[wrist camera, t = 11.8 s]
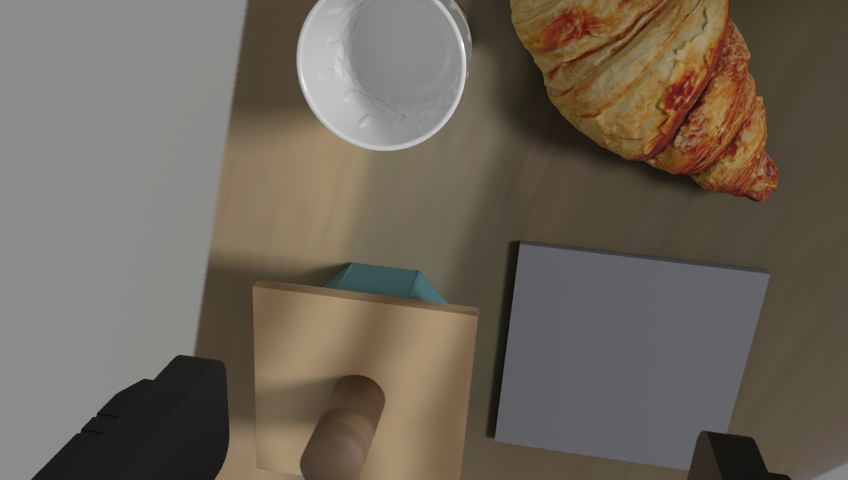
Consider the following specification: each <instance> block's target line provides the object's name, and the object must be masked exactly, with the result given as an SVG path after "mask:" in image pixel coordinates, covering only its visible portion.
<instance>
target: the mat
mask: <svg viewBox="0 0 848 480" xmlns="http://www.w3.org/2000/svg"><path fill="white" fill-rule="evenodd" d="M770 275H771V274H770V273H769V271H768V270H763V269H754V268H746V267H738V266H729V265H721V264H712V263H704V262H696V261H687V260H679V259H670V258H662V257H654V256H645V255H637V254H628V253H620V252H612V251H603V250H595V249H587V248H578V247H570V246H561V245H553V244H545V243H536V242H528V241H520V246H519V254H518V262H517V269H516V277H515V285H514V293H513V300H512V308H511V316H510V324H509V331H508V339H507V347H506V355H505V363H504V370H503V378H502V386H501V394H500V401H499V409H498V417H497V425H496V433H495V442H502V443H509V444H515V445H522V446H529V447H535V448H542V449H548V450H555V451H562V452H568V453H575V454H581V455H588V456H595V457H601V458H608V459H615V460H621V461H628V462H634V463H641V464H648V465H654V466H661V467H667V468H674V469H681V470H687V471H689V470H690V466H691V461H692V457H693V453H694V449H695V445H696V441H697V438H698V436H699V434H700V432H701V431H703V430H704V431H711V432H718V433H725V434H727V431H728V427H729V423H730V420H731V416H732V413H733V409H734V405H735V402H736V398H737V394H738V391H739V387H740V384H741V380H742V376H743V373H744V369H745V365H746V362H747V358H748V354H749V351H750V347H751V344H752V340H753V336H754V333H755V329H756V325H757V322H758V318H759V315H760V311H761V307H762V304H763V300H764V296H765V293H766V289H767V285H768V282H769V278H770Z"/></svg>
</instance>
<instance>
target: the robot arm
mask: <svg viewBox="0 0 848 480" xmlns="http://www.w3.org/2000/svg"><path fill="white" fill-rule="evenodd" d="M228 445H229V416H228V398H227V380H226V369H225V366H224V363H223V362H222V361H220V360H213V359H206V358H199V357H192V356H185V355H178V356H176V357H175V358H174V359H173V360H172V361H171V362H170V363H169V364H168V365H167V366H166V367H165V368H164V370H163V371H162V372H161V373H160V374H159V375H158V376H157V377H156V378H155V379H154V380H149V379H143V380H141V381H139V382H137V383H135V384H133V385H132V386H130V387H128V388H126V389H124V390H122V391H121V392H119V393H117V394H116V395H115V396H114V397H113V398H112V399H111V400H110V401H109V402H108V403H107V404H106V405H105V406H104V407H103V408H102V409H101V410H100V411H99V412H98V413H97V416H96V417H93V418H92V419H91V420H90V421H89V422H88V423H87V424H86V425H85V426H84V427H83V428H82V429H81V433H80V434H79V433H77V434H76V435H75V436H74V437H73V438H72V439H71V440H70V441H69V442H68V443H67V444H66V445H65V446H64V447H63V448H62V449H61V450H60V451H59V452H58V453H57V454H56V455H55V456H54V457H53V458H52V459H51V460H50V461H49V462H48V463H47V464H46V465H45V466H44V467H43V468H42V469H41V470H40V471H39V472H38V473H37V474H36V475H35V476H34V477H33V478H32V479H31V480H214V479H215V478H216V476H217V475H218V473H219V471H220V470H221V468H222V466H223V463H224V461H225V458H226V454H227V450H228ZM687 480H791V479H790V478H789V477H788V476H787V475H783V474H776V473H769V472H768V471H767V468H766V466H765V464H764V461H763V459H762V456H761V454H760V452H759V449H758V447H757V444H756V442H755V440H754V439H753V438H751V437H746V436H739V435H732V434H725V433H718V432H711V431H704V430H703V431H701V432H700V434H699V436H698V438H697V441H696V445H695V449H694V453H693V457H692V461H691V466H690V470H689V474H688V478H687Z"/></svg>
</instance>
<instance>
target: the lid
mask: <svg viewBox="0 0 848 480" xmlns="http://www.w3.org/2000/svg"><path fill="white" fill-rule="evenodd" d="M478 312H479V308H476V307H468V306H461V305H453V304H445V303H438V302H430V301H422V300H415V299H407V298H399V297H392V296H384V295H376V294H369V293H361V292H353V291H346V290H338V289H330V288H323V287H315V286H308V285H300V284H292V283H285V282H277V281H269V280H262V279H259V280H258V281H257V282H256V283H255V284H254V285H253V326H254V369H255V412H256V456H257V468H258V469H264V470H270V471H277V472H283V473H289V474H295V475H301V476H303V477H304V478H305V480H460V476H461V467H462V458H463V449H464V440H465V430H466V421H467V412H468V403H469V394H470V385H471V376H472V367H473V357H474V348H475V339H476V330H477V321H478Z"/></svg>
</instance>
